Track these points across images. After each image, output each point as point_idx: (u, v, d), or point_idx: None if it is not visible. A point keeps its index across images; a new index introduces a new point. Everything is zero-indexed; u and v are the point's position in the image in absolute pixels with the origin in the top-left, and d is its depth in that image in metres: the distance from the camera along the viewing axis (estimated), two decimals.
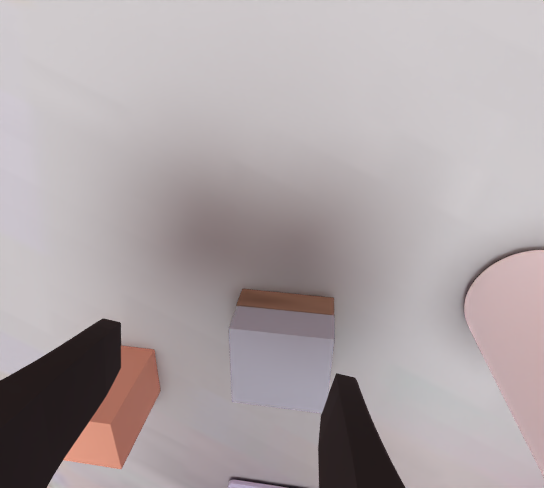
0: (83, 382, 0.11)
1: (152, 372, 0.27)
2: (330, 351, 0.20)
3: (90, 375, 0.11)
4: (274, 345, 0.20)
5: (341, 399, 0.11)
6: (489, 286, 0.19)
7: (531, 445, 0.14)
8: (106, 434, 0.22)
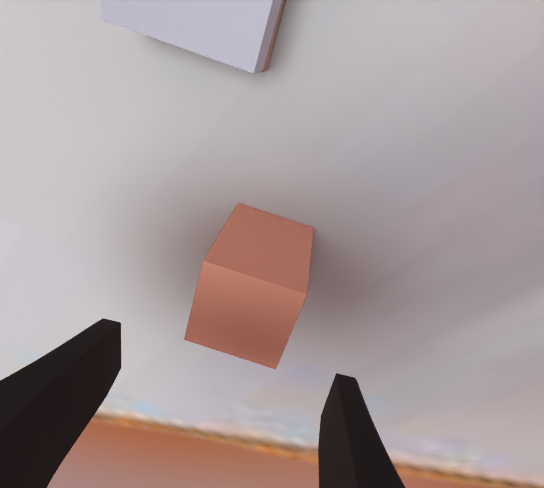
0: (84, 382, 0.11)
1: (262, 216, 0.19)
2: None
3: (90, 375, 0.11)
4: None
5: (341, 399, 0.11)
6: None
7: None
8: (224, 276, 0.14)
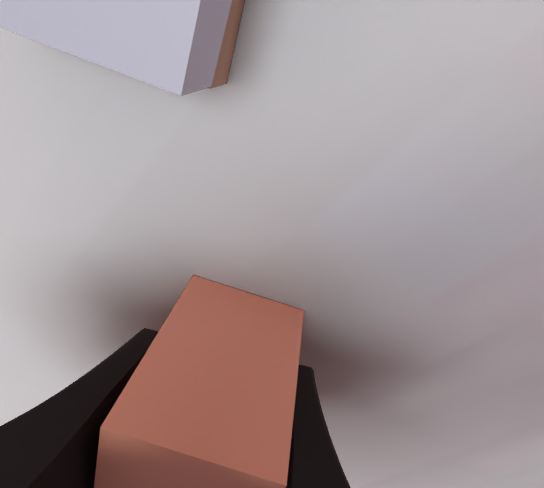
0: None
1: (227, 299, 0.13)
2: None
3: None
4: None
5: None
6: None
7: None
8: (140, 450, 0.08)
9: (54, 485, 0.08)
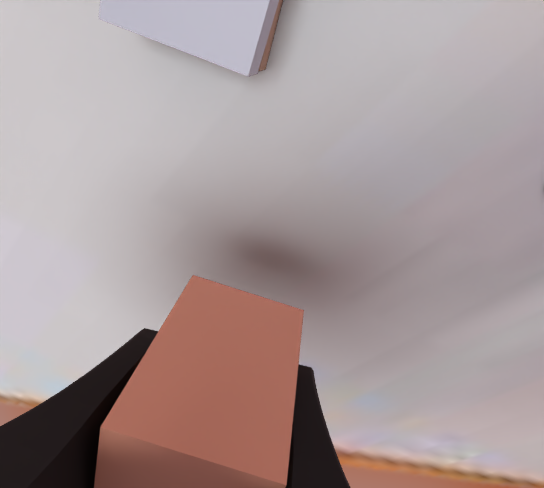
0: None
1: (227, 299, 0.13)
2: None
3: None
4: None
5: None
6: None
7: None
8: (140, 450, 0.08)
9: (55, 485, 0.08)
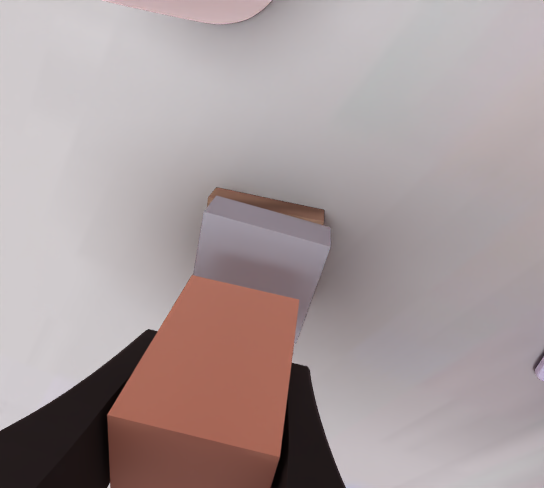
0: None
1: (224, 294, 0.13)
2: (221, 219, 0.16)
3: None
4: (211, 276, 0.17)
5: None
6: None
7: (148, 0, 0.08)
8: (145, 434, 0.09)
9: (60, 487, 0.08)
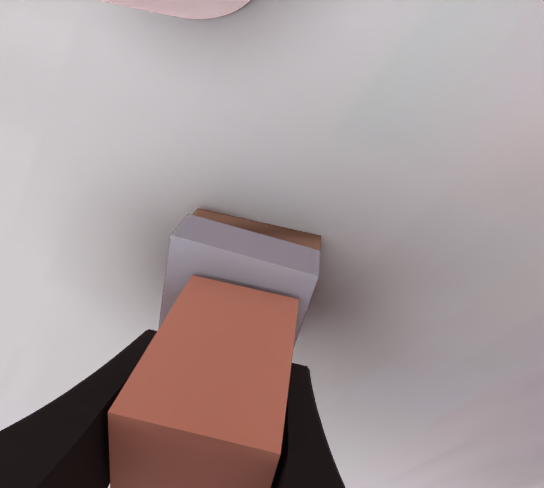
0: None
1: (225, 294, 0.13)
2: (191, 244, 0.14)
3: None
4: None
5: None
6: None
7: None
8: (145, 432, 0.09)
9: (61, 487, 0.08)
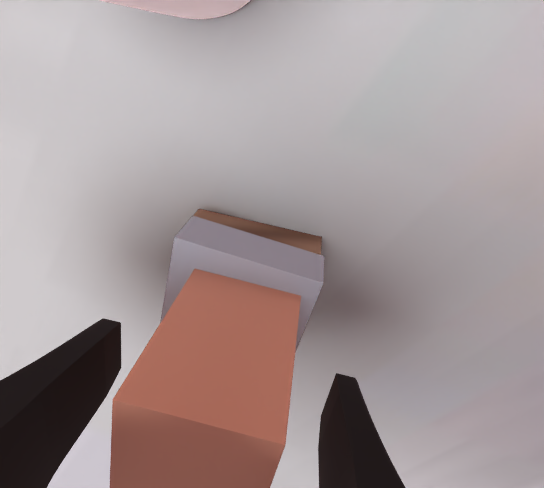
0: (84, 382, 0.11)
1: (227, 288, 0.13)
2: (195, 247, 0.14)
3: (90, 375, 0.11)
4: None
5: (341, 399, 0.11)
6: None
7: None
8: (150, 420, 0.09)
9: None
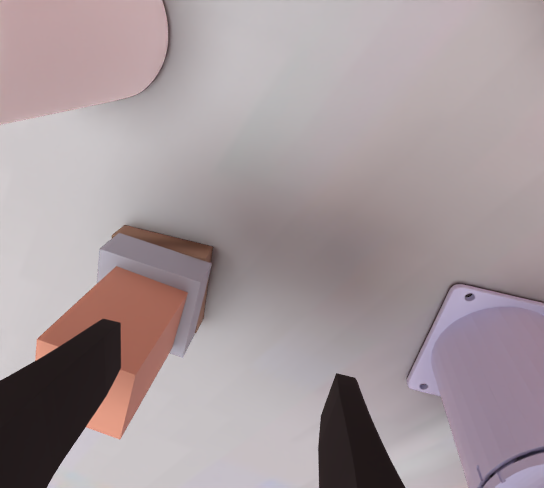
0: (84, 382, 0.11)
1: (135, 282, 0.19)
2: (114, 256, 0.20)
3: (90, 375, 0.11)
4: None
5: (341, 399, 0.11)
6: None
7: None
8: None
9: None
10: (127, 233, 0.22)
